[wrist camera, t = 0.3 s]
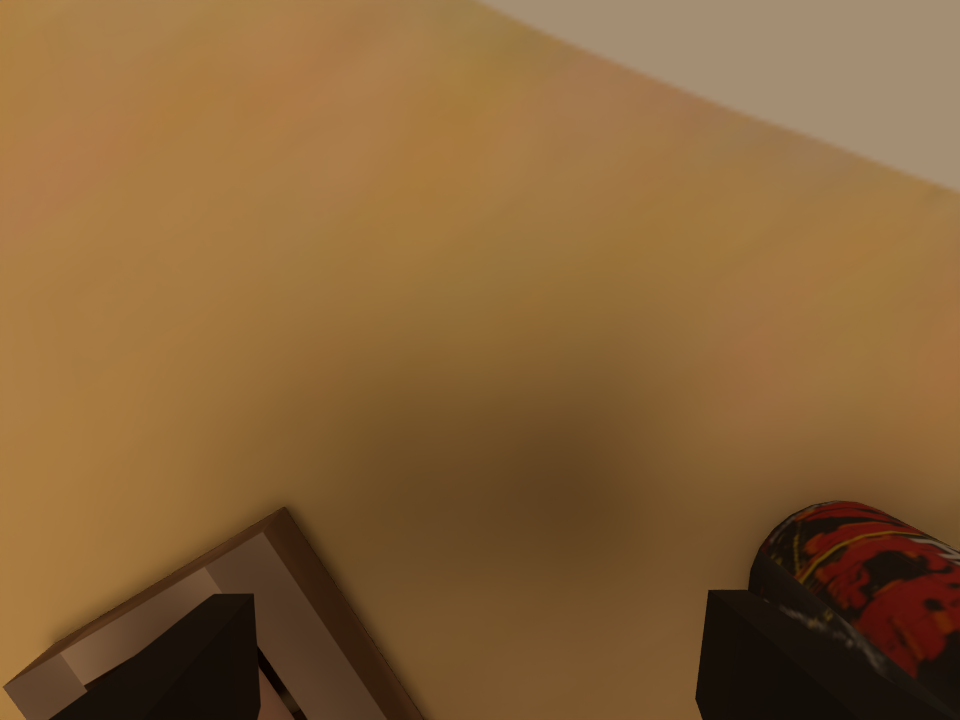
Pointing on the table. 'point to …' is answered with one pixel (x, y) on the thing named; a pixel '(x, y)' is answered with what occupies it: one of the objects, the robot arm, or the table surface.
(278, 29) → the table surface
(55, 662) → the socket board
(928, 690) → the deodorant
